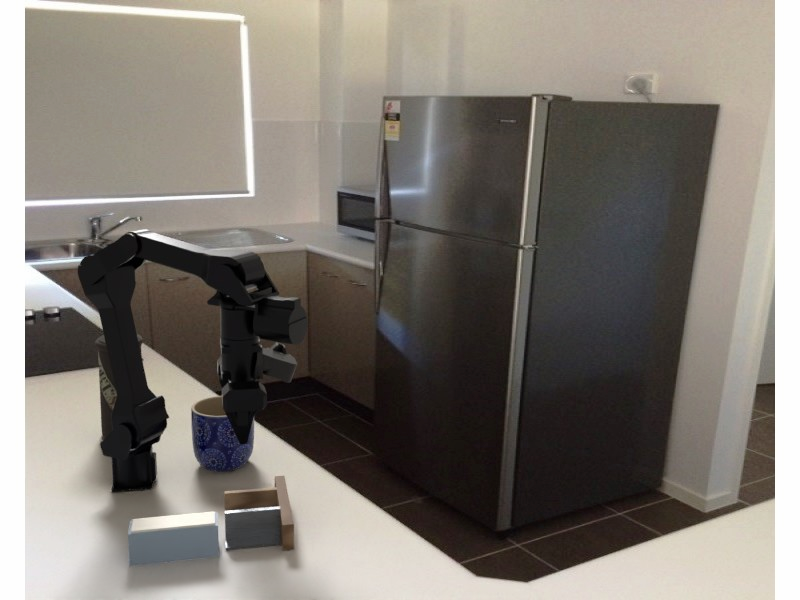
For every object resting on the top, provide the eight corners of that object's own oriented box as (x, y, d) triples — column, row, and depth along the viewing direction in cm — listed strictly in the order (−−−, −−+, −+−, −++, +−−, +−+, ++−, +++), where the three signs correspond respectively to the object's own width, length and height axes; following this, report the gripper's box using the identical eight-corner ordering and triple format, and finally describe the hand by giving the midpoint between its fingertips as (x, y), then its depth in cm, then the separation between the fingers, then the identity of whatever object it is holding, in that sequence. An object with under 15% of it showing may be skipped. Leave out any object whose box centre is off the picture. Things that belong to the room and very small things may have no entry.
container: (90, 436, 148) (84, 337, 143) (123, 421, 156) (118, 326, 151) (126, 444, 144) (120, 343, 140) (157, 428, 153) (153, 332, 148)
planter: (242, 480, 131) (240, 419, 129) (182, 474, 133) (180, 413, 130) (263, 454, 142) (262, 397, 139) (207, 449, 143) (206, 393, 141)
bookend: (225, 550, 109) (225, 521, 108) (225, 538, 112) (224, 510, 111) (281, 544, 111) (281, 516, 110) (280, 533, 114) (279, 506, 113)
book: (129, 567, 105) (127, 532, 104) (132, 551, 109) (130, 518, 107) (219, 557, 108) (218, 523, 107) (218, 543, 112) (217, 510, 110)
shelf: (225, 556, 108) (225, 530, 107) (224, 502, 123) (224, 480, 122) (293, 549, 110) (293, 524, 109) (284, 497, 125) (284, 475, 124)
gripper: (302, 350, 108) (301, 452, 112) (285, 318, 126) (285, 407, 129) (222, 354, 105) (224, 458, 109) (216, 321, 123) (218, 411, 126)
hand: (241, 432), depth 118 cm, fingers open, 9 cm apart
